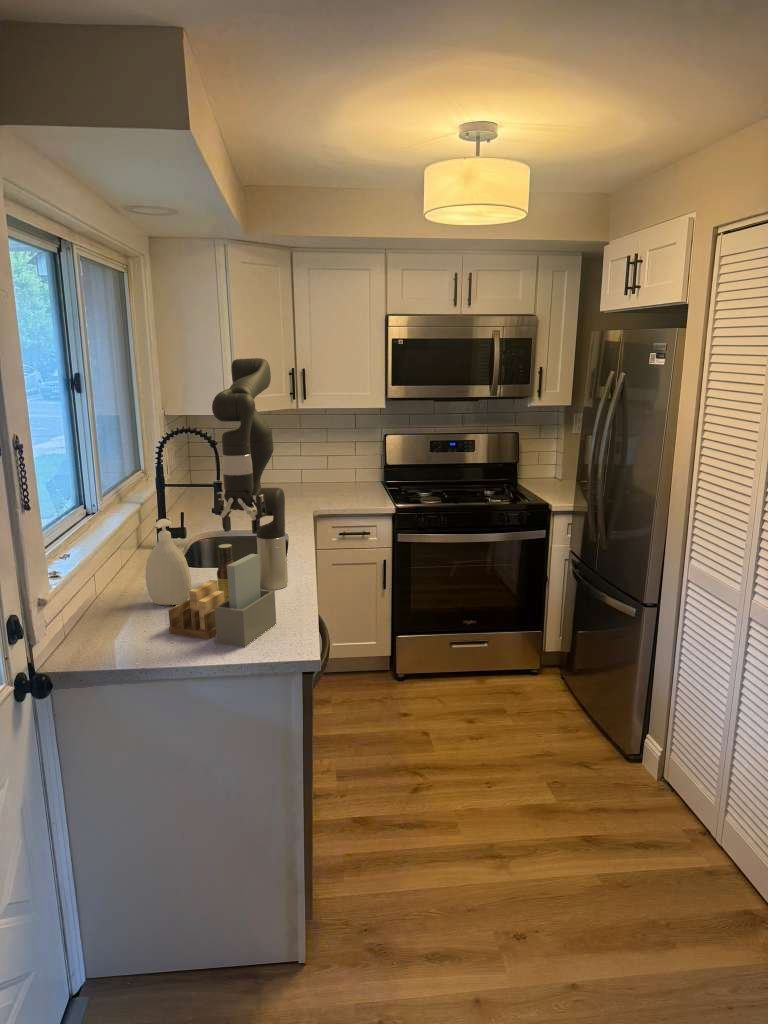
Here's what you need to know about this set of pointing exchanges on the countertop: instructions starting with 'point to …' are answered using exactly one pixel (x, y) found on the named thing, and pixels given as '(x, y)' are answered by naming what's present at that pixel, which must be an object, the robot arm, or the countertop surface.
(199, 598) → the oak offcut
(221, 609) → the bin
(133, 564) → the countertop surface
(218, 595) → the beech offcut
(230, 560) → the sauce bottle
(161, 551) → the soap bottle
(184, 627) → the rack
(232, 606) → the tall sheet
